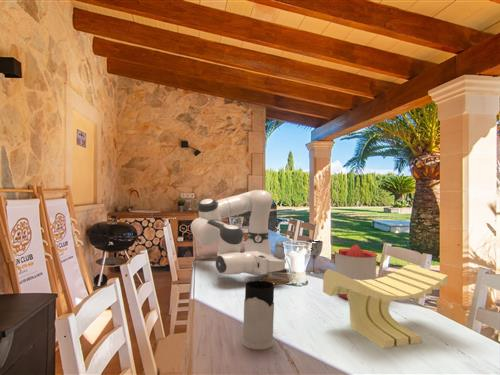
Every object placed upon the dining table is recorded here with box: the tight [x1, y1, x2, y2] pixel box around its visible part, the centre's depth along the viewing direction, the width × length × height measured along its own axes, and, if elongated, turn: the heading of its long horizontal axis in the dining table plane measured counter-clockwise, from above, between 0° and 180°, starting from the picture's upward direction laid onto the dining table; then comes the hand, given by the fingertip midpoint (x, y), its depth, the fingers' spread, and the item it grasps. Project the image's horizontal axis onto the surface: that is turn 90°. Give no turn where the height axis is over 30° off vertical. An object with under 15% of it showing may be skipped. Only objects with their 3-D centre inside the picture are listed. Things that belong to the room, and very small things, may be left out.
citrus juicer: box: [329, 244, 378, 300], centre depth 128 cm, size 16×17×20 cm
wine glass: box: [305, 239, 324, 274], centre depth 164 cm, size 8×8×15 cm
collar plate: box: [262, 267, 290, 285], centre depth 147 cm, size 14×14×4 cm
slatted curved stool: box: [322, 264, 449, 349], centre depth 96 cm, size 30×16×18 cm, turn 109°
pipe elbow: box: [274, 239, 293, 273], centre depth 147 cm, size 8×5×15 cm, turn 117°
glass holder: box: [240, 280, 275, 350], centre depth 90 cm, size 9×14×15 cm, turn 163°
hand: (281, 259), depth 147 cm, fingers closed on pipe elbow, 4 cm apart
